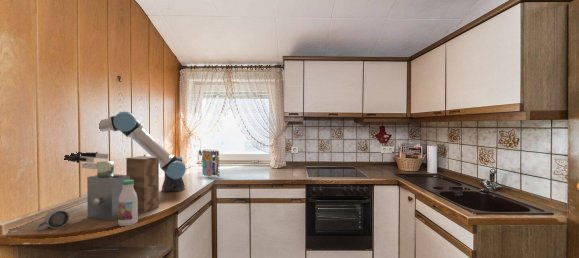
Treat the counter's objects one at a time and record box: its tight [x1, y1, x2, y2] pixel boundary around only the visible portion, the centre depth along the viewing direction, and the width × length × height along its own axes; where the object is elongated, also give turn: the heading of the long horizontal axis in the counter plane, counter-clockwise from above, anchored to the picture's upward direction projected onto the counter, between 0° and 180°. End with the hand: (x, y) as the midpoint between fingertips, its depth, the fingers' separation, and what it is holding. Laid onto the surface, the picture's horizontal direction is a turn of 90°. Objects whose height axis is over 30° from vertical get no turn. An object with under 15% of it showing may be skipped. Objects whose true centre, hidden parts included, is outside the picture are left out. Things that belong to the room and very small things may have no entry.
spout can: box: [81, 160, 115, 177], centre depth 141 cm, size 7×18×7 cm, turn 72°
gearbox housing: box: [86, 173, 130, 222], centre depth 137 cm, size 12×16×20 cm
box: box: [198, 148, 221, 179], centre depth 243 cm, size 25×6×24 cm, turn 55°
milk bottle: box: [117, 180, 139, 227], centre depth 128 cm, size 8×8×20 cm
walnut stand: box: [125, 155, 160, 213], centre depth 151 cm, size 10×12×28 cm
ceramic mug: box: [35, 208, 70, 232], centre depth 123 cm, size 11×8×8 cm
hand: (101, 158), depth 154 cm, fingers open, 13 cm apart
